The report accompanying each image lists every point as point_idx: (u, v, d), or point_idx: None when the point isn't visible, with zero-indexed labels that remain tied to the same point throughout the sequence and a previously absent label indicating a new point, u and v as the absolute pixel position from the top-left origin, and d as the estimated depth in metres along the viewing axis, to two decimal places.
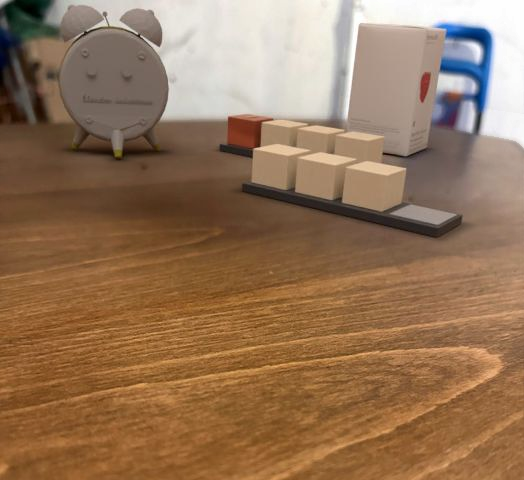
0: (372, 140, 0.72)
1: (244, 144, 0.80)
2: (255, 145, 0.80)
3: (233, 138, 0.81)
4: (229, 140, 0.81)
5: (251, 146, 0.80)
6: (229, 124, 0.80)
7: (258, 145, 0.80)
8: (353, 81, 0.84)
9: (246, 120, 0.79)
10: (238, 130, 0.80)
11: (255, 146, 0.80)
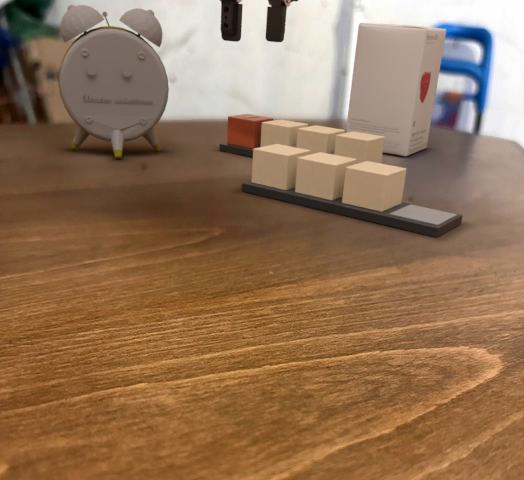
0: (372, 140, 0.72)
1: (244, 144, 0.80)
2: (255, 145, 0.80)
3: (233, 138, 0.81)
4: (229, 140, 0.81)
5: (251, 146, 0.80)
6: (229, 124, 0.80)
7: (258, 145, 0.80)
8: (353, 81, 0.84)
9: (246, 120, 0.79)
10: (238, 130, 0.80)
11: (255, 146, 0.80)
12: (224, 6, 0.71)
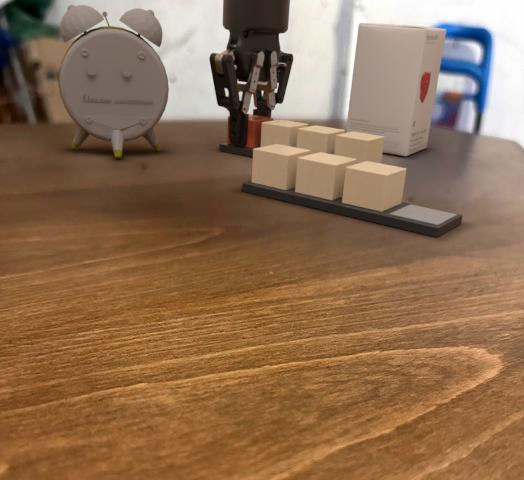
0: (372, 140, 0.72)
1: None
2: (255, 145, 0.80)
3: None
4: (229, 140, 0.81)
5: (251, 146, 0.80)
6: None
7: (258, 145, 0.80)
8: (353, 81, 0.84)
9: None
10: None
11: (255, 146, 0.80)
12: (232, 116, 0.78)
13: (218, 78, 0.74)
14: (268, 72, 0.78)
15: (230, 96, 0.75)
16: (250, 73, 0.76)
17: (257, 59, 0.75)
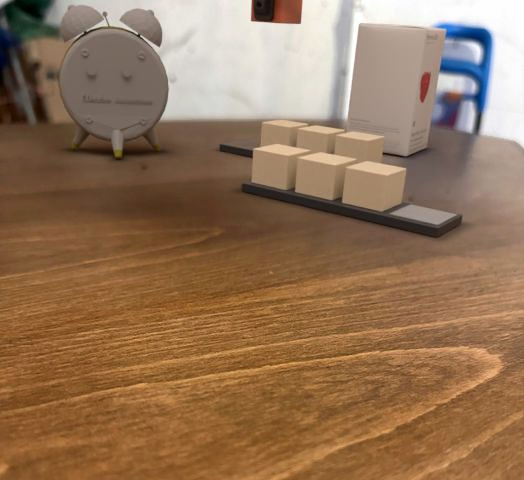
0: (372, 140, 0.72)
1: None
2: (283, 20, 0.71)
3: None
4: (253, 17, 0.72)
5: (278, 20, 0.71)
6: None
7: (286, 20, 0.71)
8: (353, 81, 0.84)
9: None
10: None
11: (283, 21, 0.71)
12: None
13: None
14: None
15: None
16: None
17: None
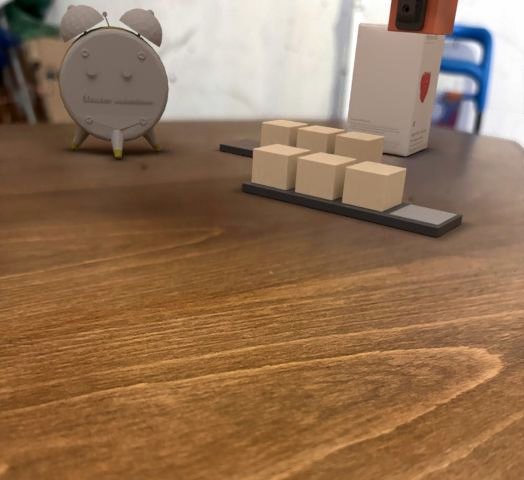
0: (372, 140, 0.72)
1: None
2: (436, 29, 0.52)
3: None
4: (392, 25, 0.53)
5: (430, 31, 0.52)
6: None
7: (439, 30, 0.52)
8: (353, 81, 0.84)
9: None
10: None
11: (436, 31, 0.52)
12: None
13: None
14: None
15: None
16: None
17: None
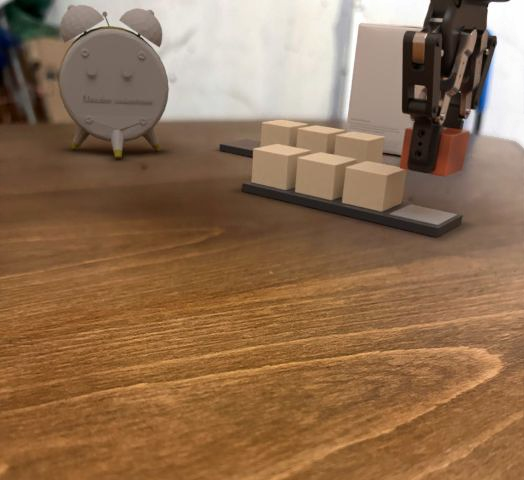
0: (372, 140, 0.72)
1: None
2: (447, 171, 0.53)
3: None
4: (404, 163, 0.55)
5: (442, 173, 0.53)
6: (406, 140, 0.54)
7: (450, 171, 0.54)
8: (353, 81, 0.84)
9: None
10: None
11: (447, 173, 0.53)
12: (419, 129, 0.52)
13: (413, 70, 0.48)
14: (473, 62, 0.52)
15: (429, 98, 0.48)
16: (455, 63, 0.49)
17: (469, 41, 0.49)
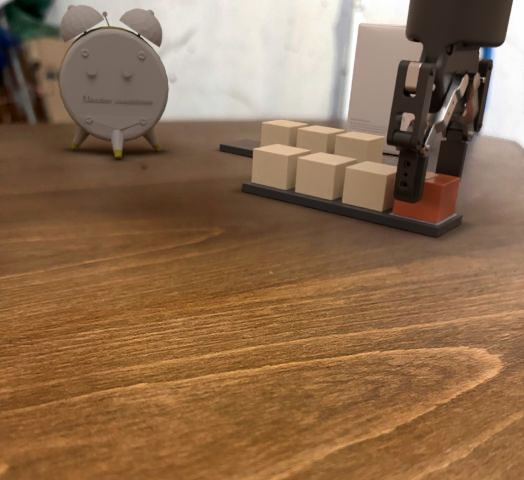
0: (372, 140, 0.72)
1: (422, 217, 0.55)
2: (438, 218, 0.55)
3: (404, 206, 0.56)
4: (396, 209, 0.56)
5: (433, 220, 0.55)
6: None
7: (441, 218, 0.56)
8: (353, 81, 0.84)
9: (429, 183, 0.54)
10: None
11: (438, 220, 0.55)
12: (404, 159, 0.51)
13: (403, 97, 0.48)
14: (469, 102, 0.54)
15: (415, 127, 0.48)
16: None
17: (460, 86, 0.50)
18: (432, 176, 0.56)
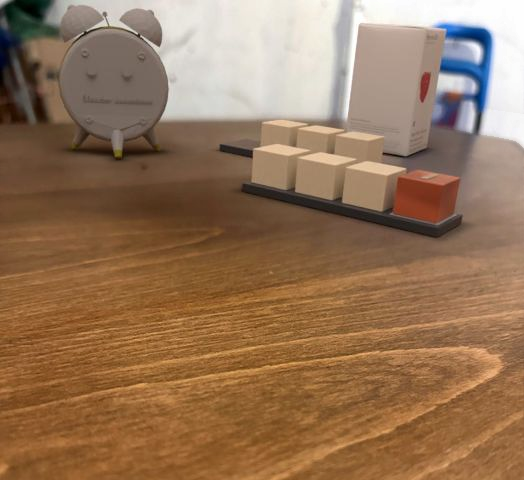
0: (372, 140, 0.72)
1: (422, 217, 0.55)
2: (438, 218, 0.55)
3: (404, 206, 0.56)
4: (396, 209, 0.56)
5: (433, 220, 0.55)
6: (399, 187, 0.56)
7: (441, 218, 0.56)
8: (353, 81, 0.84)
9: (429, 183, 0.54)
10: (413, 197, 0.55)
11: (438, 220, 0.55)
12: None
13: None
14: None
15: None
16: None
17: None
18: (432, 176, 0.56)
